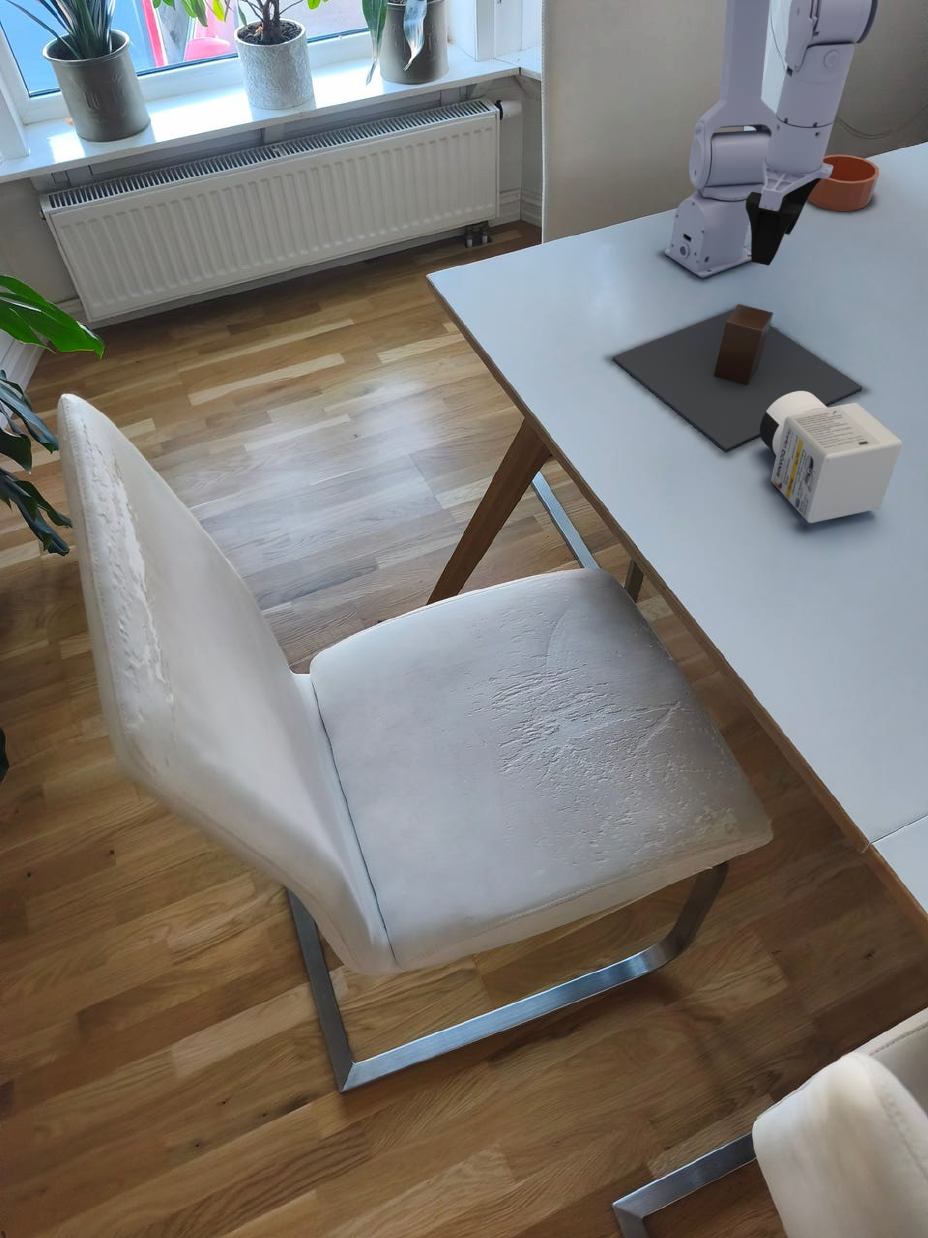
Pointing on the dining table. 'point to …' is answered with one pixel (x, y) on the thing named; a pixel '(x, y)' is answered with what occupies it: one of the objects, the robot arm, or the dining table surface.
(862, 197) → the orange round bowl
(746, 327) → the block
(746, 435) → the mat
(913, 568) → the dining table surface
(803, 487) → the container
